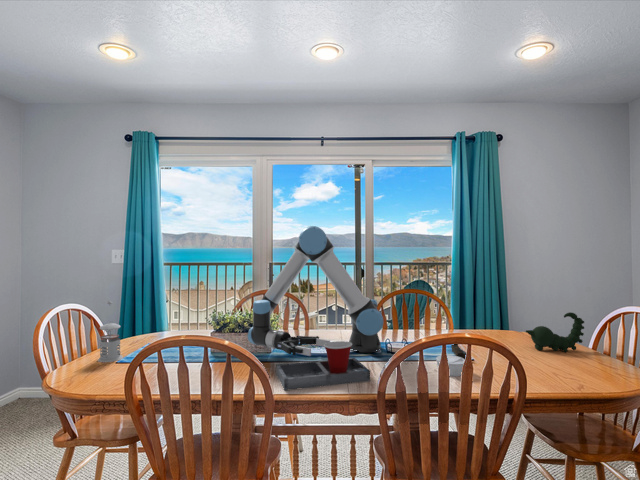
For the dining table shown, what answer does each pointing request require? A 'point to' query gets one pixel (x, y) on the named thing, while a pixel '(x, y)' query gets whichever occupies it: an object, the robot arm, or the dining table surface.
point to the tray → (319, 374)
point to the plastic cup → (338, 355)
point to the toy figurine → (557, 336)
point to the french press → (110, 343)
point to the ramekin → (453, 364)
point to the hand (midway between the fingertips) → (320, 348)
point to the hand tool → (458, 351)
